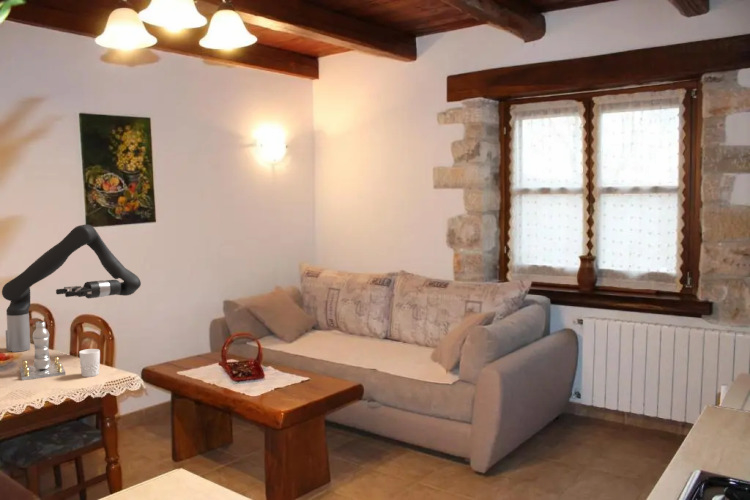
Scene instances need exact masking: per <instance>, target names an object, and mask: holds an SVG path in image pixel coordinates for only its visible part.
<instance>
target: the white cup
mask: <svg viewBox="0 0 750 500" xmlns="http://www.w3.org/2000/svg"><path fill="white" fill-rule="evenodd" d="M78 353H79V354H78V355H79V365H80V372H81V374H80V375H81V376H82V377H84V378H85V377H86V378H90V377H91V378H92V377H96V376H99V374H100V367H101V365H100V363H101V350H100V349H99V348H88V349H87V348H86V349H83V350H80V351H78Z"/></svg>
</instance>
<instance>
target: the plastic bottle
mask: <svg viewBox="0 0 750 500" xmlns="http://www.w3.org/2000/svg"><path fill="white" fill-rule="evenodd" d="M35 327H36V328H35V329H34V331H33V332H32V341H33V344H34V345H33V348H34V357H33V366H34V367H35V368H36V369H46V368H49V367H50V364H52V362H51V361H52V360H51V357H50V351H49V346H50V345H49V344H50V342H49V341H50V333H49V330H48V329H47V327H46V321H43V320H42V321H41V320H40V321H36V322H35Z"/></svg>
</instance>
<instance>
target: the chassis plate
mask: <svg viewBox="0 0 750 500" xmlns="http://www.w3.org/2000/svg"><path fill="white" fill-rule="evenodd" d="M53 360H54V363H51V364H50V367H49V368H46V369H36V368H35V367H34V365H30V366H28V361H27V360H23V361H22V366H21V367H20V366H19V373H20V377H21V381H27V380H34V379H42V378H49V377H50V378H52V377H58V376H65V375H66V370H65V368H64V365H63V363H62V362H59V356H55V357H54V359H53Z"/></svg>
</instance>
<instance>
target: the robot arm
mask: <svg viewBox="0 0 750 500" xmlns="http://www.w3.org/2000/svg"><path fill="white" fill-rule="evenodd" d="M86 245H87V247H89V248H90V249H91V250H92V251H93V252H94V253H95V255H96V256H97V258H98V260H99V261H100V263H101V265H102V267H103V268H104V270H105V271H106V272H108V274H109V275H110V276H111V277H112V278H113V279H109V280H108V279H106V280H92V281H86V282H85V283H84V284H83V286H81V285H75V286H74V285H73V286H64V287H63V288H57V289H55V294H56V295H64V297H66V298H69V297H77V298H81V297H85V298H86V299H96V298H104V297H108V296H115V295H116V296H131V295H133V294H135V292H136V291H137V290H138V289H139V288H140V287H141V284H142V281H141V279H140V278H139V276H138V275H137V274H135V273H133V272H132V271H131V270H130V269H128V268H126V267H125V266H124V265H123V264H122V263H121V261H120V260H119V259H118V258H117V257H116V255H114V253H112V251H111V250H110V248H108V246H107V244H106V243H105V242H104V240H103V239H102V238H101V235H100V234H99V232H97V230H96V229H95V227H94V226H93V225H91V224H80V225H77V226H75V227H74V228H72V230H71V231H69V233H68V234H67V235H66V236H65V237H64V238H63V239H61V241H59V242H58V243H56V244H55V245H54V246H52V247H51V248H49V249H48V250H47V251H45V252H44V253H43V254H42V255H40V256H39V257H38V258H36V260H35V261H34V262H32V264H30V265H29V266H28V267H27V268H26V269H25V270H24V271H22V272H21V273H20V274H18V275H17V276H15V277H14V278H12V279H11V280H9V281H8V282H6V283H5V284H4V285H3V286H2V290H1V295H2V297H3V298H4V299H5V300H7V301H10V303H9V305H8V307H7V308H6V309H5V310H6V328H7V329H6V330H5V349H6V350H5V351H8V352H11V351H12V352H13V353H15V352H16V353H17V352H24V351H29V350H30V349H31V333H30V332H31V331H30V330H31V329H30V307H31V287H32V286H34V285H35V284H36V283H38V282H40V281H42V280H44V279H46V278H47V277H49V276H50V275H52V274H53V273H55V272H56V271H57V270H59V269H60V268H61V267H62V266H63V265H64V264H65V262H66V261H67V260H68V258H69V257H70V256H71V255H72V254H73V253H74V252H76V251H77V250H78V249H80V248H81V247H83V246H86ZM118 279H120V280H122V281H121V282H120V281H119V280H118ZM12 352H11V353H12Z"/></svg>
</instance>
